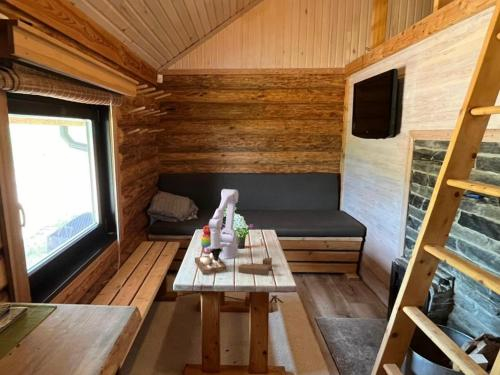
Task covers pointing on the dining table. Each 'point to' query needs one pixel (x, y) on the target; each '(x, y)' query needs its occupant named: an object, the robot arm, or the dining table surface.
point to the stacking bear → (206, 239)
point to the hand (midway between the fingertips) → (216, 260)
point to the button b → (206, 261)
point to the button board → (210, 266)
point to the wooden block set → (257, 268)
